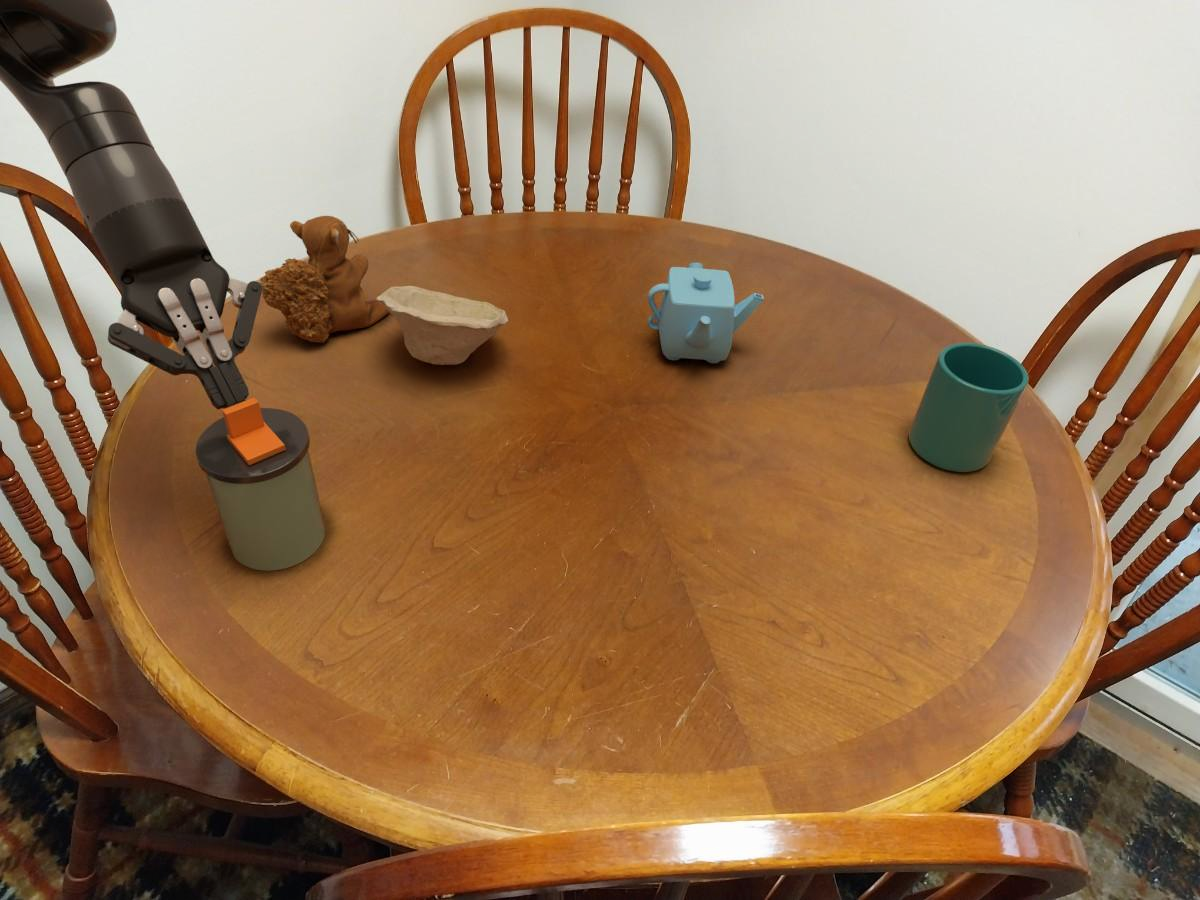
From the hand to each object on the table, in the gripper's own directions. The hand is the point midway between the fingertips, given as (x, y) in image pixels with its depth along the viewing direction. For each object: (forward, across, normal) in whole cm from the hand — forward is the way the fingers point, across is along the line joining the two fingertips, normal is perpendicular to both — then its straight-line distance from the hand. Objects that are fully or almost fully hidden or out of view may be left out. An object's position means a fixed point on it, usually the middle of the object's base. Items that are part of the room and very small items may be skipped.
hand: (236, 408), depth 71 cm
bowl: (+1, +29, +20) cm, 35 cm away
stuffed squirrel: (-9, +21, +30) cm, 38 cm away
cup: (+34, +65, -14) cm, 74 cm away
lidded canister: (+11, 0, +9) cm, 14 cm away
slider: (+3, 0, 0) cm, 3 cm away
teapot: (+13, +55, +7) cm, 57 cm away
